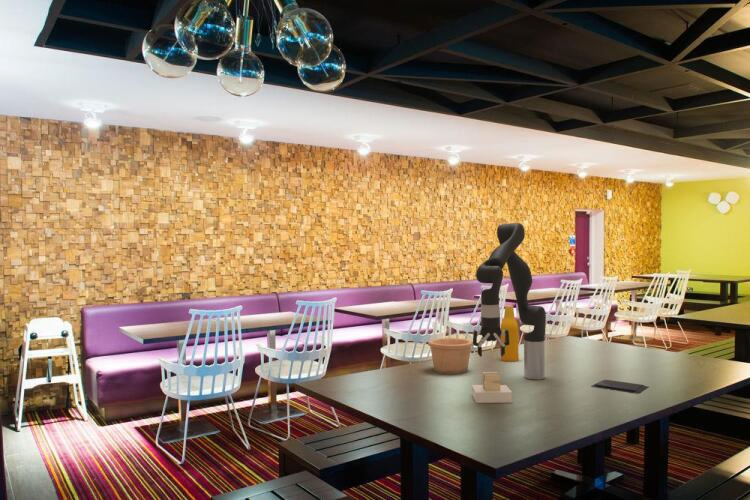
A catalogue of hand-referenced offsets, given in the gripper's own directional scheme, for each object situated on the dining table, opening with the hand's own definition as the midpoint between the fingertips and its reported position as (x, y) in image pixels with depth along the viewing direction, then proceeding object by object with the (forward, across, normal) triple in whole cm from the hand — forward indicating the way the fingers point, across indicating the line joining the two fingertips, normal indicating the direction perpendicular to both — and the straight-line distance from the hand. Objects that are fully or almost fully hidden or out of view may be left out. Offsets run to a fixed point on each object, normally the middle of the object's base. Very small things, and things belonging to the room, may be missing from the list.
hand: (491, 355), depth 227 cm
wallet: (+19, -58, -18) cm, 63 cm away
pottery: (+18, +11, -52) cm, 56 cm away
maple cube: (+13, 0, 0) cm, 13 cm away
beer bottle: (+18, -23, -77) cm, 82 cm away
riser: (+17, 0, 0) cm, 17 cm away
